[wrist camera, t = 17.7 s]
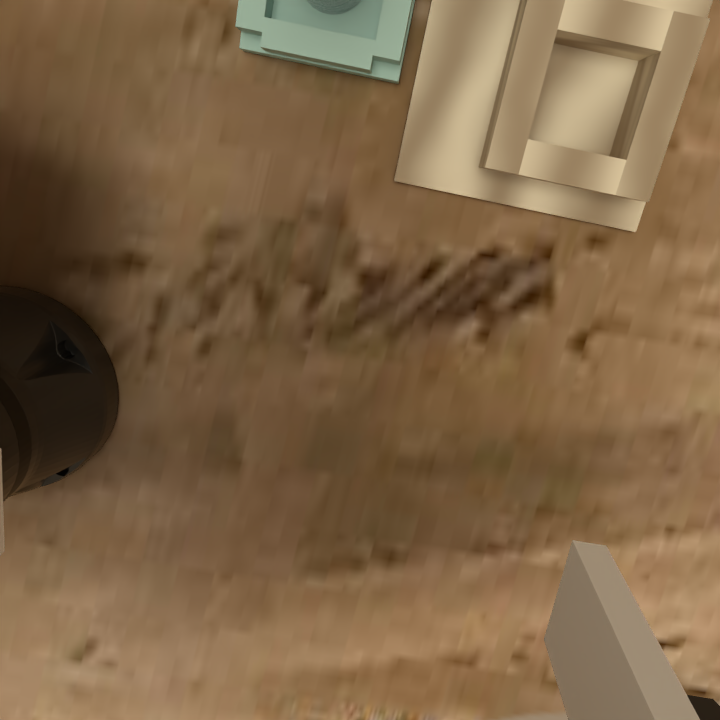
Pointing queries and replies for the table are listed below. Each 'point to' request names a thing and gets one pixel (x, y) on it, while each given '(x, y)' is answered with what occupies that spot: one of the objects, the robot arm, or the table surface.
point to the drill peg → (333, 5)
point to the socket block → (551, 102)
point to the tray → (329, 35)
